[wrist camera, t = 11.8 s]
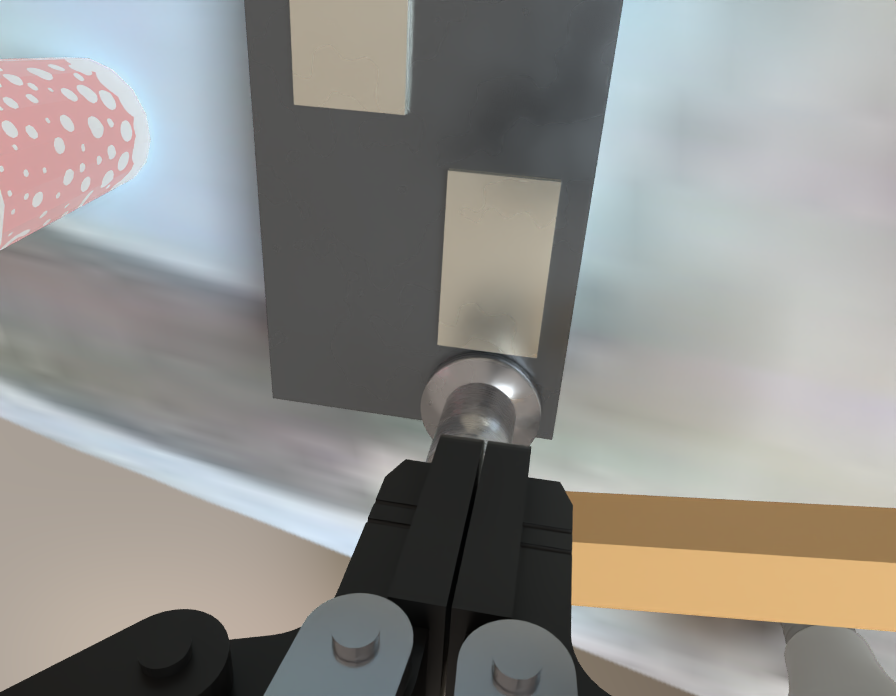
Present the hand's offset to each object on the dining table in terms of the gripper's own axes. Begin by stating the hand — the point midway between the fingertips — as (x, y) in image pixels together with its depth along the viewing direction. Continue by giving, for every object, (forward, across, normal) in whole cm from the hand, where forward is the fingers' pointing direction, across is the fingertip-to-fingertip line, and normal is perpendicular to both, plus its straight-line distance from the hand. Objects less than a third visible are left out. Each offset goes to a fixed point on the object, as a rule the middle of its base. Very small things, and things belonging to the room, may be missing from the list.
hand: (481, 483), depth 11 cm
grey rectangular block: (+14, +3, -3) cm, 15 cm away
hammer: (+5, -4, +4) cm, 8 cm away
